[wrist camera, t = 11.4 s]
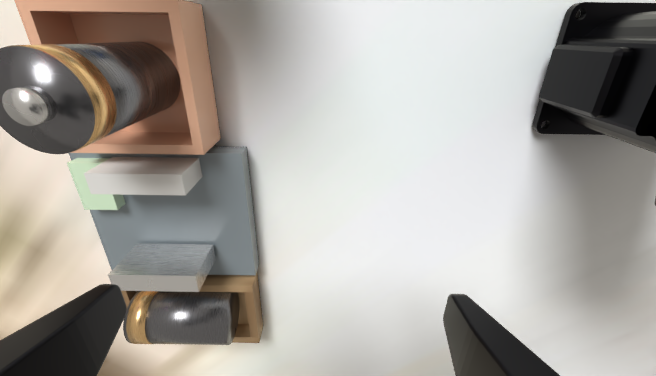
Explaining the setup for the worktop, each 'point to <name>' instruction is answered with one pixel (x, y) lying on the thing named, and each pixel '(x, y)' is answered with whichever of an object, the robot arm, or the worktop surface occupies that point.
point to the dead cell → (81, 91)
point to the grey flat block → (172, 203)
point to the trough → (248, 300)
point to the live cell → (182, 318)
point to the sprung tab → (164, 267)
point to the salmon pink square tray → (154, 28)
